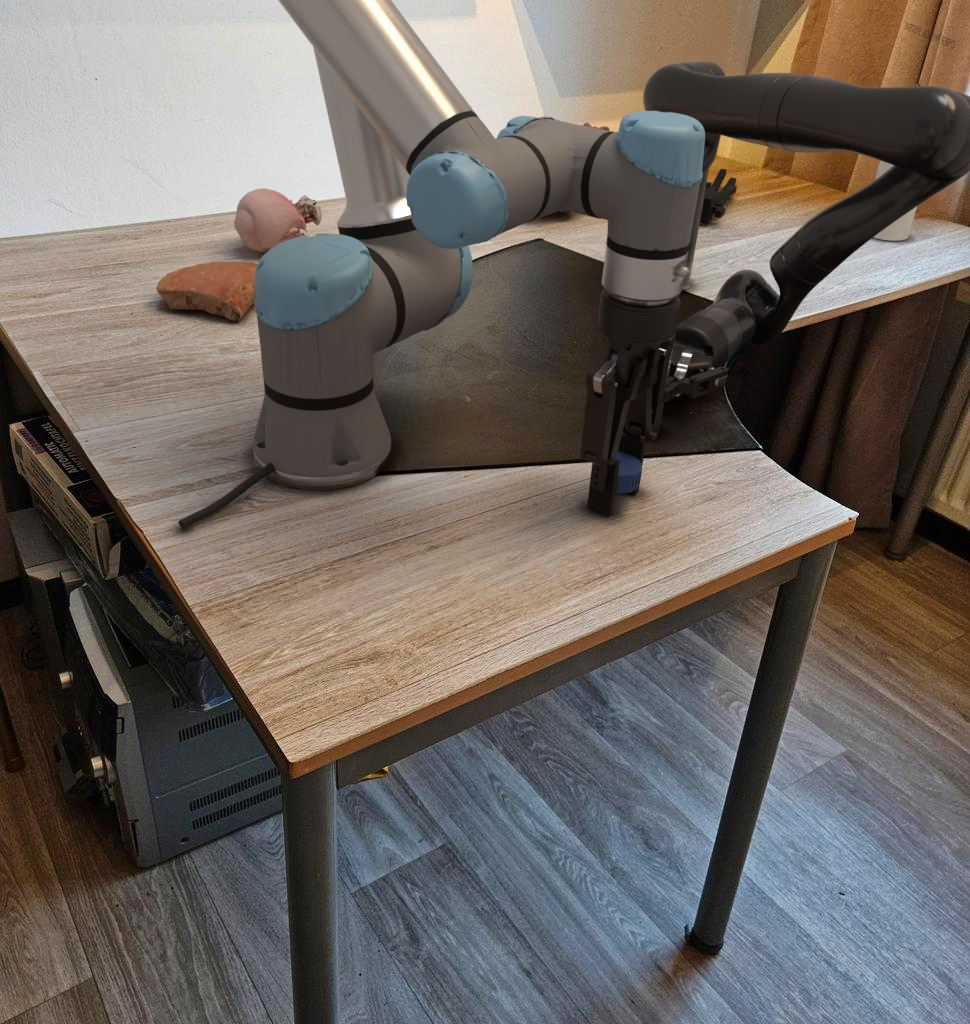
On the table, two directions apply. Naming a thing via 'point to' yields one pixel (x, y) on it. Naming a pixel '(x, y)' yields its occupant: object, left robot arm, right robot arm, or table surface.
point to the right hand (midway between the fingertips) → (638, 389)
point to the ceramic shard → (211, 288)
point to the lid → (628, 473)
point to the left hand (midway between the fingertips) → (613, 499)
